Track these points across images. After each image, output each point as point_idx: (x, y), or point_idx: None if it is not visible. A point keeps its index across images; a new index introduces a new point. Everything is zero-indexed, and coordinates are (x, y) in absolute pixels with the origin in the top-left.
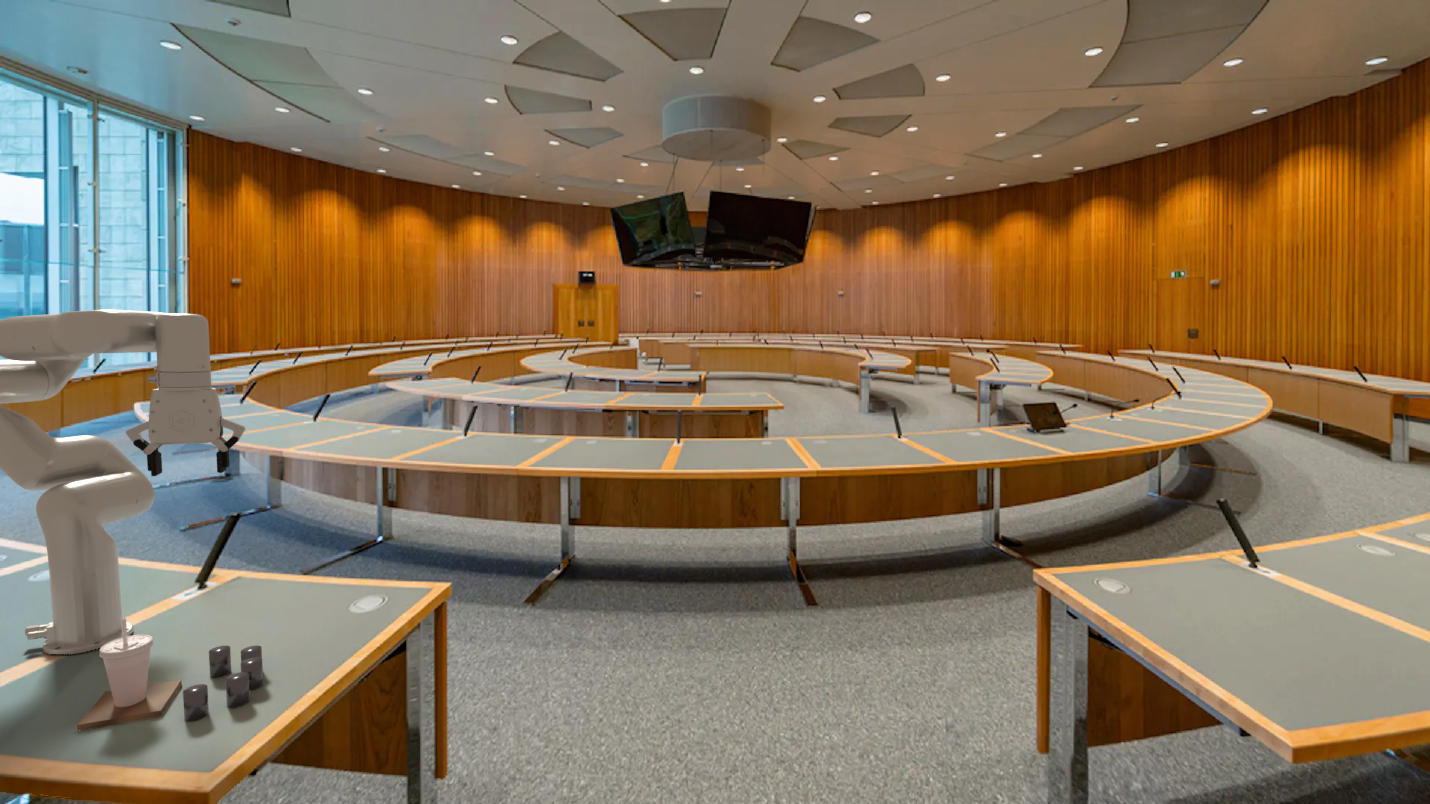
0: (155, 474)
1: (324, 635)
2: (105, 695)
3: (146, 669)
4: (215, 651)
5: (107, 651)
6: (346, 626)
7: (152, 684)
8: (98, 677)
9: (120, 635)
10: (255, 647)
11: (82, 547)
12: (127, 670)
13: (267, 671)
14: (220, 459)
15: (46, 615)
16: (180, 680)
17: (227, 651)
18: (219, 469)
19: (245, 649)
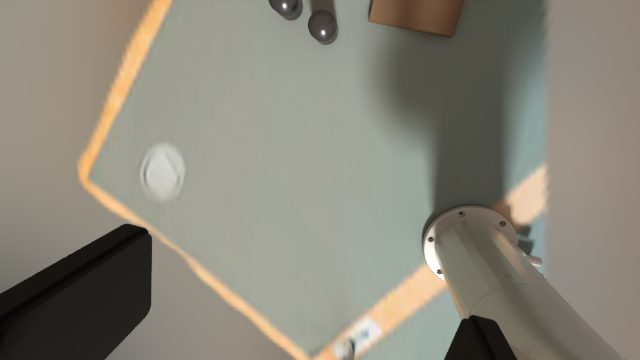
0: (473, 321)
1: (211, 90)
2: (452, 21)
3: None
4: (326, 19)
5: None
6: (186, 106)
7: (401, 24)
8: (458, 113)
9: (436, 223)
10: (275, 1)
11: (548, 317)
12: None
13: None
14: (42, 270)
15: None
16: (370, 16)
17: (311, 15)
18: (122, 231)
19: (288, 2)
